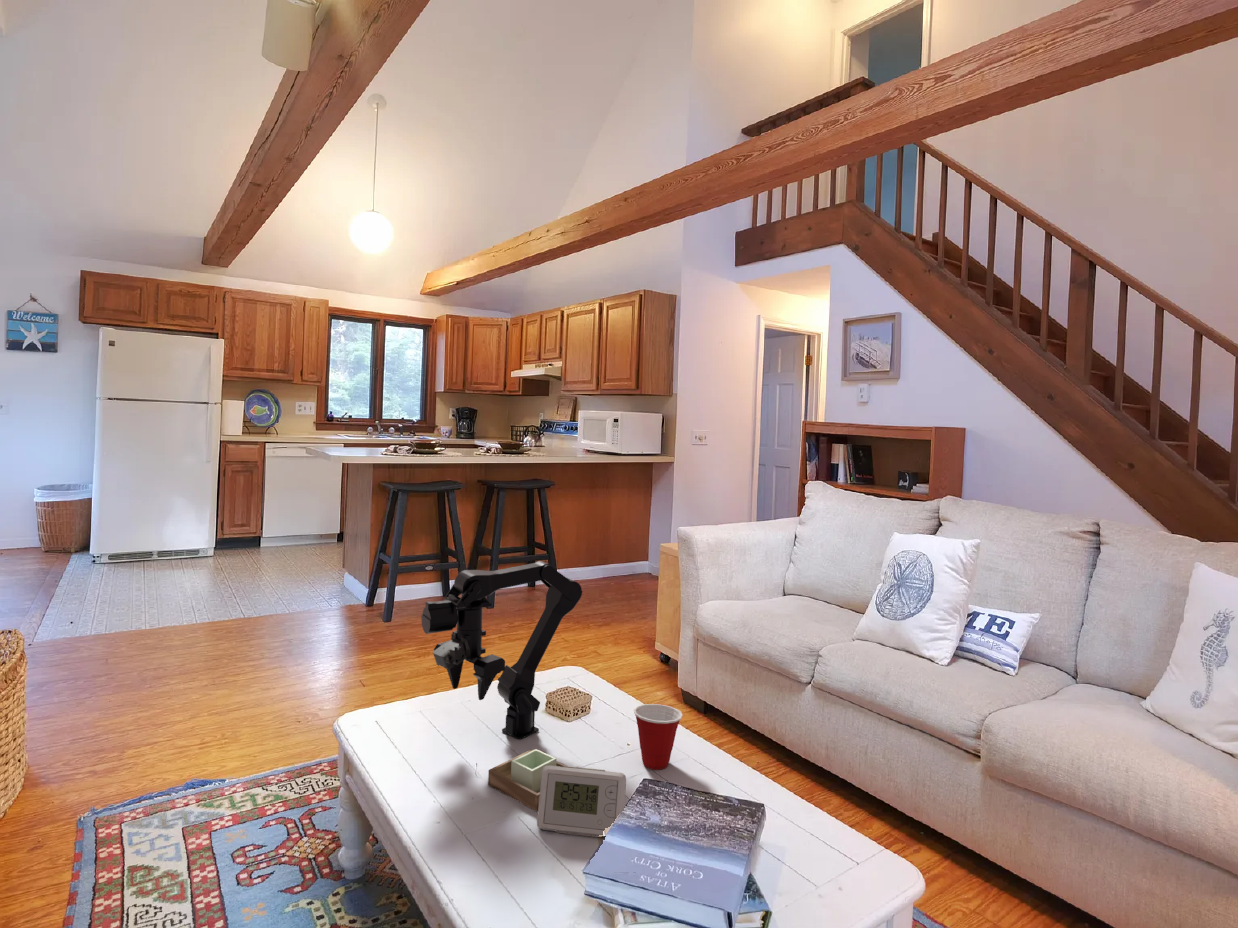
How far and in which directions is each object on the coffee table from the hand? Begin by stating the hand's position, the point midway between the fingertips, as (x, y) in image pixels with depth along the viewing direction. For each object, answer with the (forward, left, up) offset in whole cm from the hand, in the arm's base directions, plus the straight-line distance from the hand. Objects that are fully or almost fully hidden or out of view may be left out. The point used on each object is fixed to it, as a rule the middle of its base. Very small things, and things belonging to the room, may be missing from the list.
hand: (467, 693), depth 159 cm
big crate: (+2, +24, -12) cm, 27 cm away
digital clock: (+6, +41, -12) cm, 43 cm away
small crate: (+2, +24, -11) cm, 27 cm away
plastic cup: (-23, +37, -12) cm, 45 cm away
